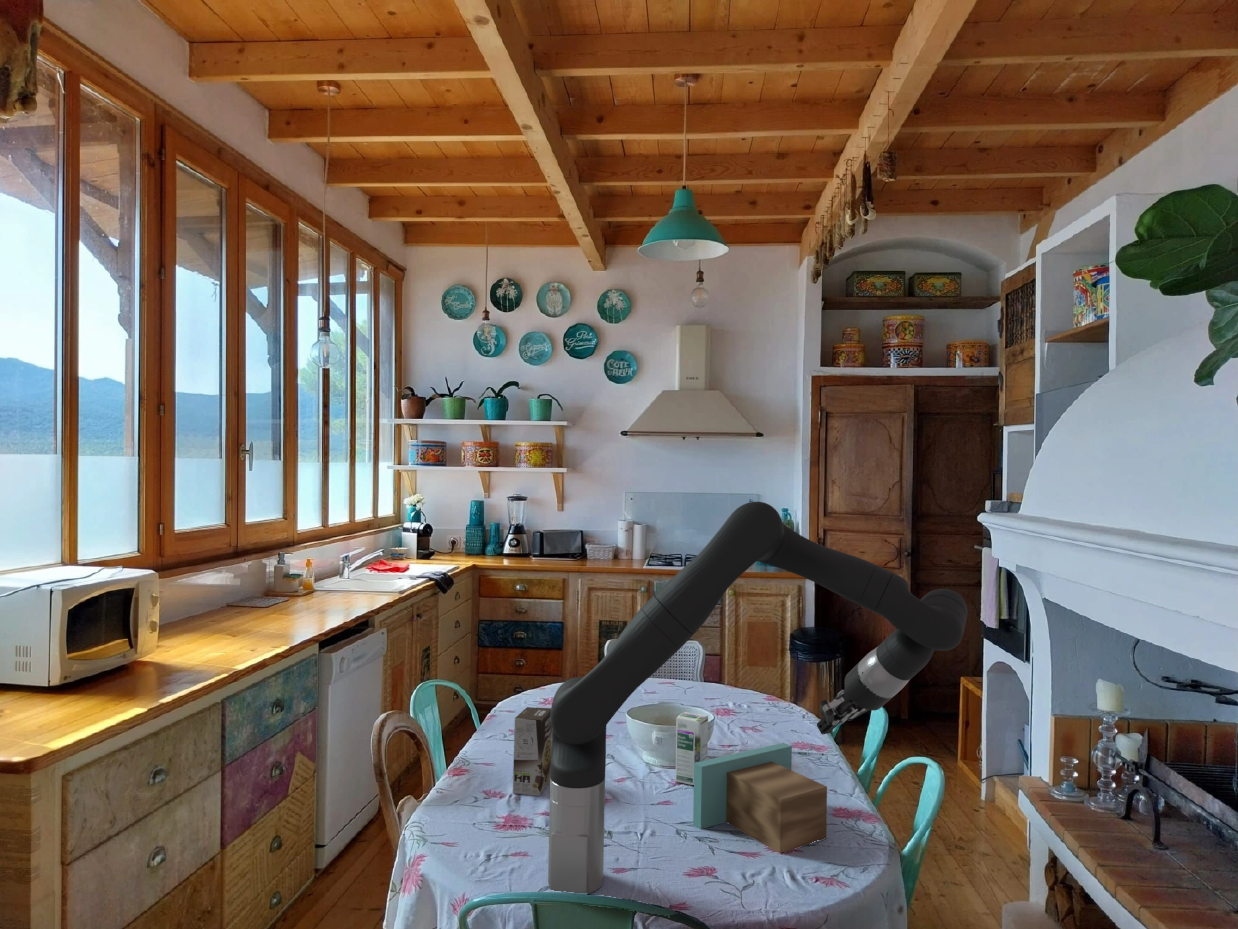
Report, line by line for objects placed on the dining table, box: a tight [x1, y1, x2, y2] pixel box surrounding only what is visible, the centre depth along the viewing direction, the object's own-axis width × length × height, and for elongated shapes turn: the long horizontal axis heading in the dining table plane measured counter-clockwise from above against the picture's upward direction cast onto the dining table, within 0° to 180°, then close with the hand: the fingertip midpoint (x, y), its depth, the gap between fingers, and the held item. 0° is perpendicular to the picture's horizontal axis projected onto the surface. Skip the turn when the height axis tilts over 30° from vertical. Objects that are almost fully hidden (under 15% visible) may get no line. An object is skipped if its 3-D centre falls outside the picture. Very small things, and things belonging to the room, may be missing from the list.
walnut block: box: [725, 762, 828, 854], centre depth 151 cm, size 15×12×10 cm
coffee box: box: [512, 706, 552, 797], centre depth 169 cm, size 9×6×16 cm
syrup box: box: [674, 711, 709, 786], centre depth 175 cm, size 6×6×14 cm
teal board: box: [692, 742, 793, 830], centre depth 158 cm, size 2×24×12 cm, turn 122°
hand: (821, 729), depth 141 cm, fingers closed
